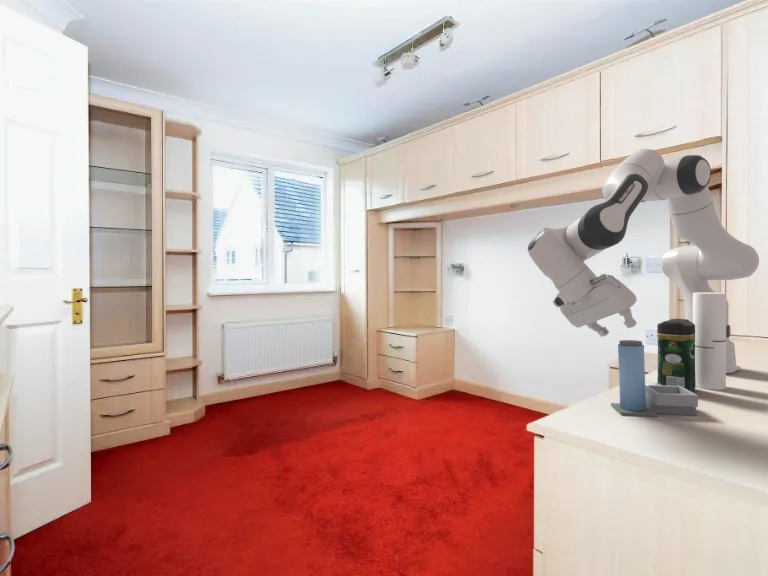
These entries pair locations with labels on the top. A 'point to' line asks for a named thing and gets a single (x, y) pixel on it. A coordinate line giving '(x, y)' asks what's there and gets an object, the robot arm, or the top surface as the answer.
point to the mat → (633, 413)
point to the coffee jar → (676, 353)
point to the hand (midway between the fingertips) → (618, 330)
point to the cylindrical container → (710, 340)
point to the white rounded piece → (651, 383)
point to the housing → (671, 399)
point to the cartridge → (632, 375)
